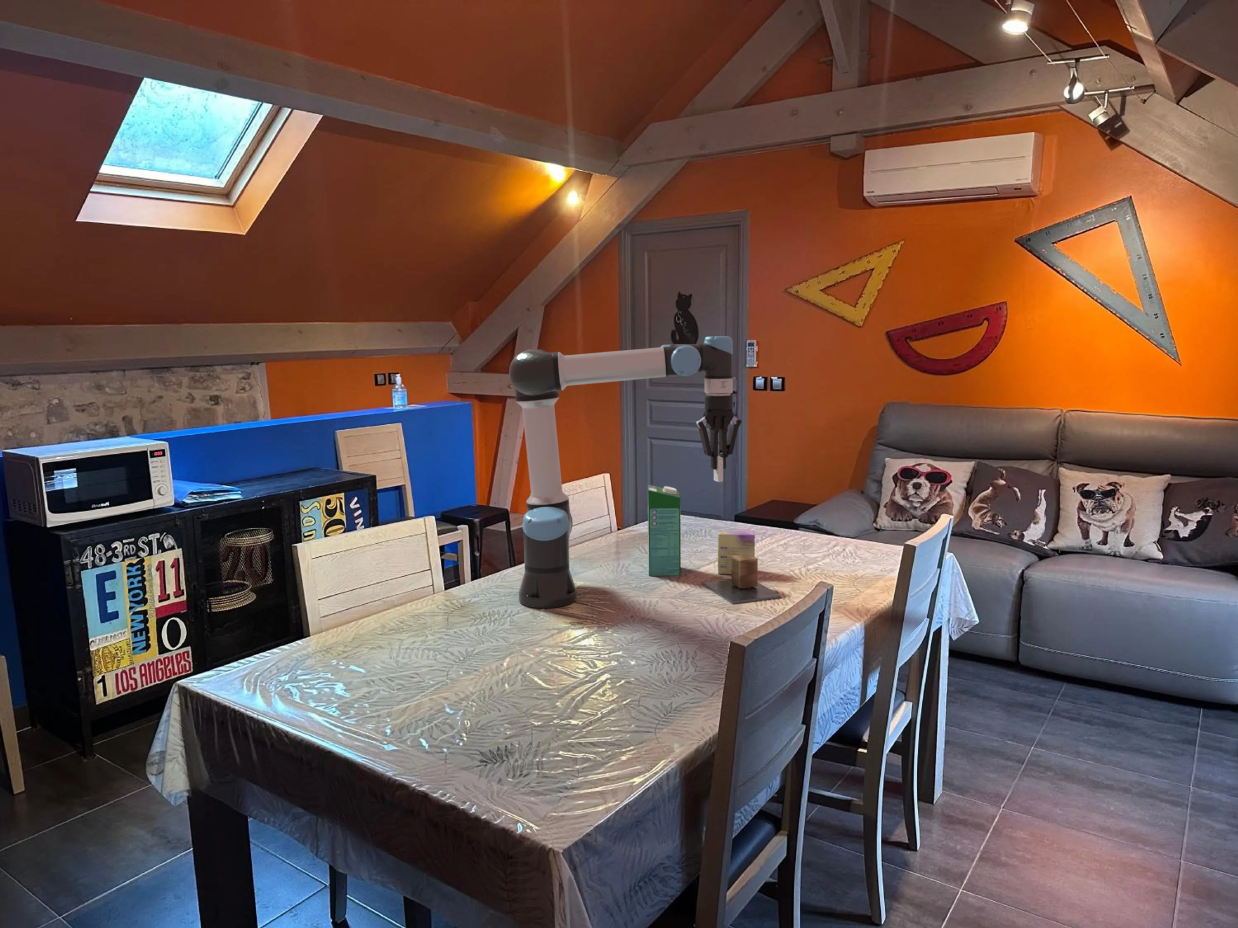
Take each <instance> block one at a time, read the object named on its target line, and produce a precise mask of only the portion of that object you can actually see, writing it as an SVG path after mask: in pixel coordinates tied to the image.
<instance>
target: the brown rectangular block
mask: <svg viewBox="0 0 1238 928" xmlns="http://www.w3.org/2000/svg"><path fill="white" fill-rule="evenodd" d="M758 562H759V560H758V558H757V557H754V556H752V555H750V554H744V555H734V556H731V574H730V575H731V576H730V577H731V578H730V579H731V583H732V584H734V585H735V586H737V587H739V588H746V587H755V586H757V582H758V580H759V579H758V578H759V577H758V575H759V574H758V569H759V568H758V566H759V565H758V564H759V563H758ZM758 583H759V582H758Z"/></svg>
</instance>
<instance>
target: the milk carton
mask: <svg viewBox="0 0 1238 928" xmlns="http://www.w3.org/2000/svg"><path fill="white" fill-rule="evenodd" d="M681 522H682V521H681V496H680V492H679V491H678V490H677V488H675V487H672V486H666V485H664V486H663V487H659V486H656V485H652V484H647V523H648V524H647V536H648V539H647V541H648V543H647V546H648V547H647V549H648V551H647V552H648V553H647V554H648V555H647V556H648V557H647V558H648V575H649V577H655V576H657V577H661V576H663V577H664V576H665V577H667V576H668V577H670V576H671V577H673V576H677V577H678V576H681V575H682V572H681V571H682V568H681V564H682V563H681V560H682V558H681V553H682V552H681V550H682V549H681V544H682V543H681V535H682V534H681V531H682V530H681V527H682V526H681V525H682V524H681Z"/></svg>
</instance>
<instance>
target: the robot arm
mask: <svg viewBox="0 0 1238 928" xmlns="http://www.w3.org/2000/svg"><path fill="white" fill-rule="evenodd" d="M733 344H734V343H733V339H732V337H730V336H727V335H725V336H724V335H719V336H718V335H717V336H716V335H715V336H712V335H711V336H706V337H705V338H704V341H703V343H698V344H697V343H696V344H694V343H692V344H691V343H689V344H686V343H685V344H684V343H683V344H681V343H680V344H678V343H677V344H676V343H675V344H674V343H670V344H662V345H661V346H659V347H650V348H639V349H628V350H626V349H625V350H615V351H603V352H591V353H581V354H580V353H579V354H569V355H568V354H566V355H565V354H562V353H561V352H560V351H558V352H547V351H546V350H543V349H540V348H532V349H526V350H524V351H522V352H520V353H519V354H517V355H516V356H514V358H513V359H512V361H511V363H510V365H509V367H508V368H509V369H508V376H509V381H510V382H511V385H512V386H513V388H514V394H515V403H517V404H518V405H519V406H520V408H522V417H523V428H524V437H525V445H526V446H525V448H526V457H527V466H528V475H529V476H528V477H529V485H530V487H529V488H530V495H529V497H528V498H527V499H526V500H525V501H526V503H525V504H526V511H527V512H525V514H524V515H523V519H522V530H523V531H522V532H523V552H524V553H523V554H524V555H523V557H524V559H523V560H524V573H523V577H522V580H521V583H520V588H519V590H518V602H519V603H520V604H521V605H523V606H524V607H525V606H526V607H529V608H537V609H552V608H553V609H554V608H559V607H564V606H569V605H571V604H574V603H575V602H576V601H577V599H578V594H577V591H578V590H577V587H576V585H575V582H574V579H573V575H572V573H571V570H570V535H571V533H572V530H573V526H574V524H573V516H572V513H571V508H570V498H569V495H567V494H566V493H565V492H564V491H563V485H562V471H561V463H560V454H559V453H560V451H559V443H558V442H559V440H558V433H557V422H556V420H557V419H556V411H555V404H556V403H557V402H558V400H559V399H560V392H559V391H564V390H565V389H566V387H568V386H576V385H577V386H579V385H580V386H581V385H588V384H589V385H590V384H601V383H602V384H603V383H612V382H622V381H623V382H624V381H634V380H644V379H655V378H667V377H668V378H669V377H680V376H681V377H691V376H693V375H694V374H696V373H704V393H705V395H704V413H703V417H702V418H701V419H699V420H696V421H695V425H696V427H697V429H698V430H699V436H700V441H701V445H702V449H703V454H704V455H706V456H708V457H710V468H711V470H713V481H715V482H717V483H723V481H724V469H726V468H727V458H728V456H730V455H733V452H734V448H735V443H736V439H737V436H738V431H739V427H740V425H741V424H742V419H740V418H739V419H738V418H737V417H736V416H735V414H734V411H733V408H734V407H733V406H734V405H733V403H734V401H733V400H734V398H733V397H734V396H733V395H732V394H733V391H734V389H733V388H734V383H733V381H734V379H733V378H734V377H733V375H734V347H733ZM729 425H730V427H728V426H729ZM706 426H709V435H708V430H707V427H706ZM728 428H729V430H728ZM709 437H710V438H709Z"/></svg>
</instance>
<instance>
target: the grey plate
mask: <svg viewBox="0 0 1238 928" xmlns="http://www.w3.org/2000/svg"><path fill="white" fill-rule="evenodd" d="M702 585H703V586H704V587H706V588H707V589H709V590H710V591H712V592H713V593H715V594H716V595H717V596H720V597H721V598H723V599H724V600H726V601H727V602H729V603H730V604H732V605H735V604H741V603H742V604H745V603H751V602H760V601H767V600H774V599H781V598H782V595H781V594H780V593H778V592H776V591H774V590H772V589H770V588H769V587H768V586H765V585H764V584H762V583H760V582H757V586H755V587H746V588H739V587H737V586H735V585H734V584H732V583H731V578H730V579H721V580H714V581H712V580H711V581H706V582H705V581H704V582H703V581H702Z"/></svg>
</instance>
